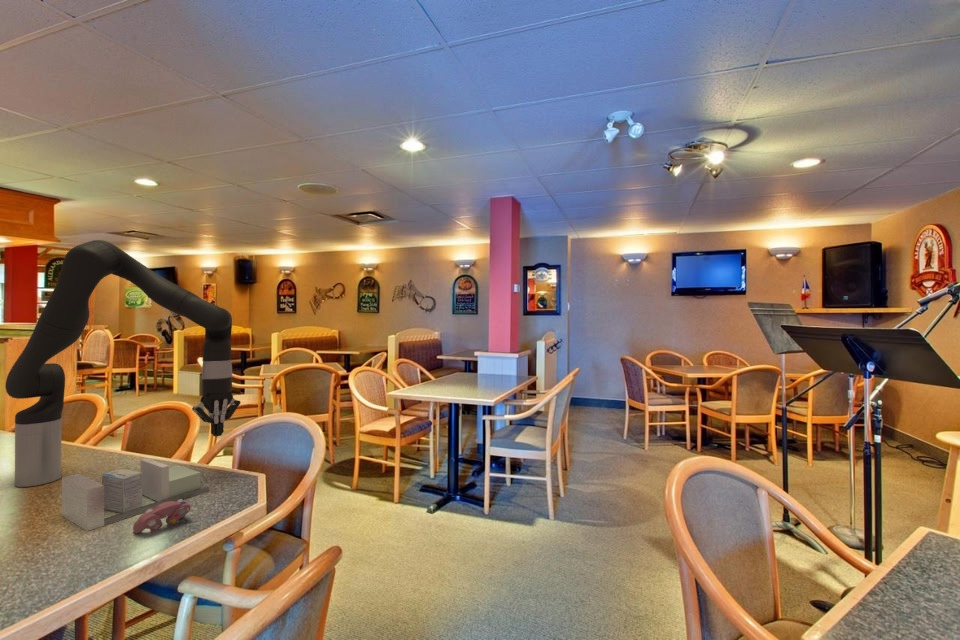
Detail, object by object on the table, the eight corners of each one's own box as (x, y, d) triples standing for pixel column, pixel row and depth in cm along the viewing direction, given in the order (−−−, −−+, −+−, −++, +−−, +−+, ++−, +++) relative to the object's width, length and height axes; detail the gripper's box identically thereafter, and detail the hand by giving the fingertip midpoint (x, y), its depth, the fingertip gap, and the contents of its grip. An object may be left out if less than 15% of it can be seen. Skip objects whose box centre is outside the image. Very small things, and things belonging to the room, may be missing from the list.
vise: (61, 515, 101) (61, 477, 101) (181, 480, 123) (181, 449, 123) (86, 531, 94) (87, 490, 94) (209, 491, 116) (209, 457, 116)
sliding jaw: (140, 493, 113) (140, 459, 113) (178, 482, 121) (178, 450, 121) (162, 503, 107) (162, 467, 107) (200, 491, 115) (200, 457, 115)
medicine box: (143, 506, 106) (143, 471, 106) (123, 514, 102) (123, 478, 102) (121, 502, 108) (121, 468, 108) (101, 509, 104) (101, 474, 104)
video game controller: (137, 544, 91) (144, 519, 89) (129, 530, 93) (136, 504, 92) (188, 525, 100) (195, 502, 98) (180, 512, 102) (187, 489, 100)
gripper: (232, 372, 132) (232, 429, 132) (185, 377, 120) (185, 439, 120) (247, 374, 128) (247, 432, 128) (199, 379, 117) (199, 443, 117)
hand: (217, 435), depth 124 cm, fingers closed
